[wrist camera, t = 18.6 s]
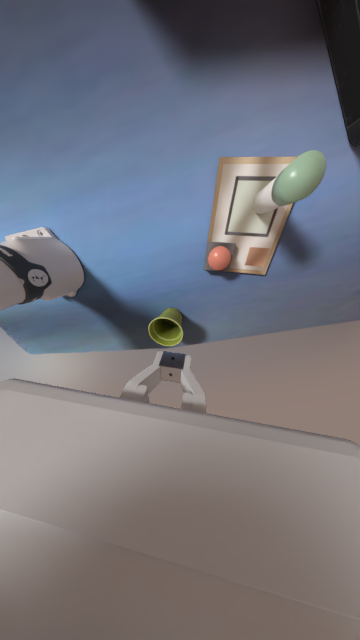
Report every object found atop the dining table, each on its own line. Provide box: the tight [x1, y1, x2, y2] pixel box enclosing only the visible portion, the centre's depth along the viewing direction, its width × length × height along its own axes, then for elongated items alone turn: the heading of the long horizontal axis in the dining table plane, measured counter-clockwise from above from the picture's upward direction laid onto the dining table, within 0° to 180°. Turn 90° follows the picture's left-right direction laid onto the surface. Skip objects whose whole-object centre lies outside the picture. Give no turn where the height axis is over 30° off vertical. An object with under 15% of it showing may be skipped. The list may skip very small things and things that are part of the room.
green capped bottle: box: [253, 150, 326, 214], centre depth 19 cm, size 4×4×12 cm
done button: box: [208, 246, 231, 270], centre depth 28 cm, size 4×4×2 cm
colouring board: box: [204, 157, 297, 275], centre depth 26 cm, size 14×18×2 cm
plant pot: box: [148, 308, 183, 346], centre depth 38 cm, size 9×9×9 cm
